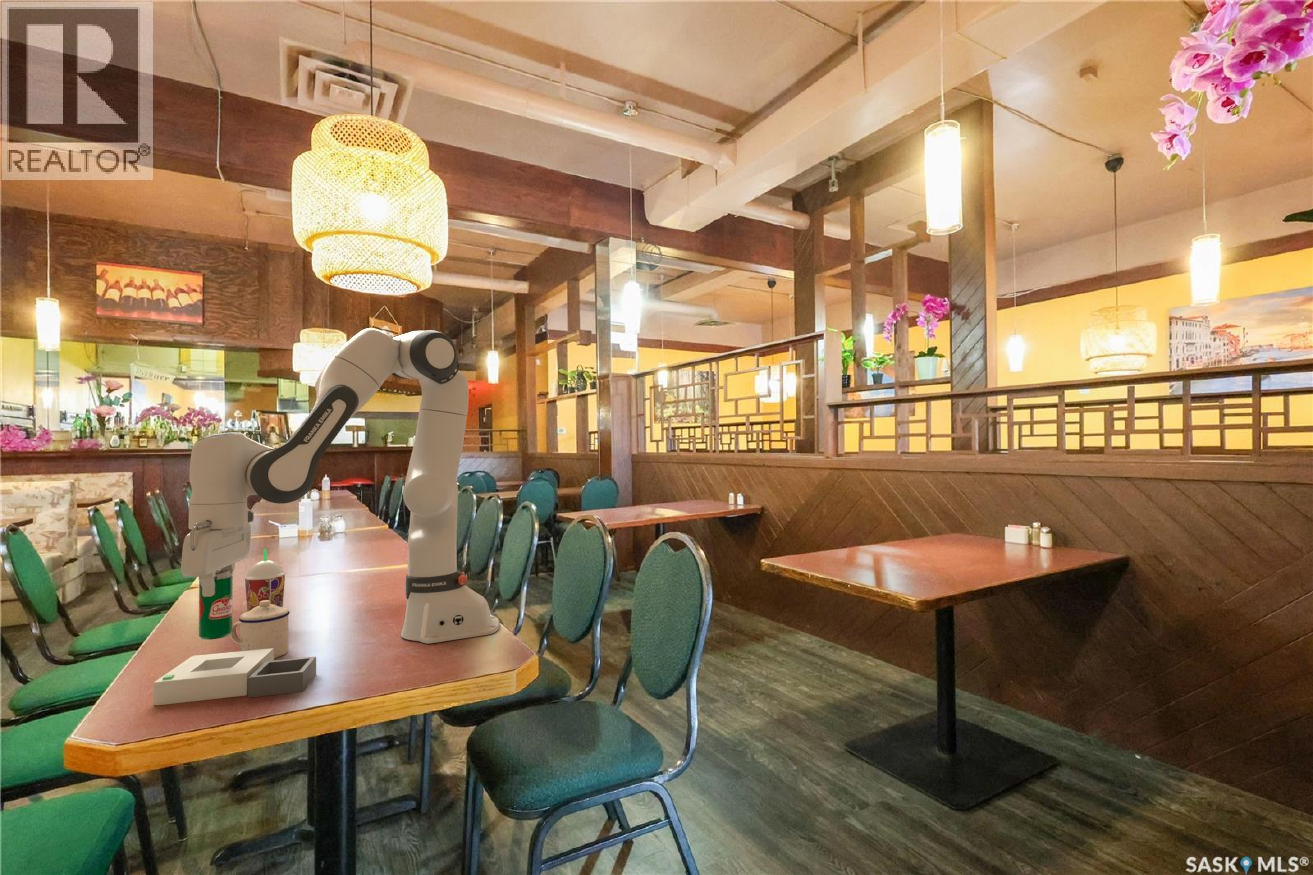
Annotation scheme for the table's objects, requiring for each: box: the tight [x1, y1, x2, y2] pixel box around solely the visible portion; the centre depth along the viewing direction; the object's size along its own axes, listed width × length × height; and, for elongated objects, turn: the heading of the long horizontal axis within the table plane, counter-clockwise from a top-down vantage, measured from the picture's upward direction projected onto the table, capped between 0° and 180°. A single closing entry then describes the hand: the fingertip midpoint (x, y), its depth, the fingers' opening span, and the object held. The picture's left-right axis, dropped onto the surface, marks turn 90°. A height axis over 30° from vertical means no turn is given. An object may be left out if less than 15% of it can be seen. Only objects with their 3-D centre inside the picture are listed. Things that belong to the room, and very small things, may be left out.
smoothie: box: [244, 548, 286, 612], centre depth 146 cm, size 8×8×20 cm
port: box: [153, 648, 275, 707], centre depth 111 cm, size 14×14×4 cm
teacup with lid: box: [229, 600, 290, 659], centre depth 128 cm, size 12×9×12 cm
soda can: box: [198, 570, 234, 641], centre depth 111 cm, size 5×5×12 cm
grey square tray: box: [248, 655, 317, 699], centre depth 111 cm, size 9×9×4 cm
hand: (217, 591), depth 111 cm, fingers closed on soda can, 5 cm apart
